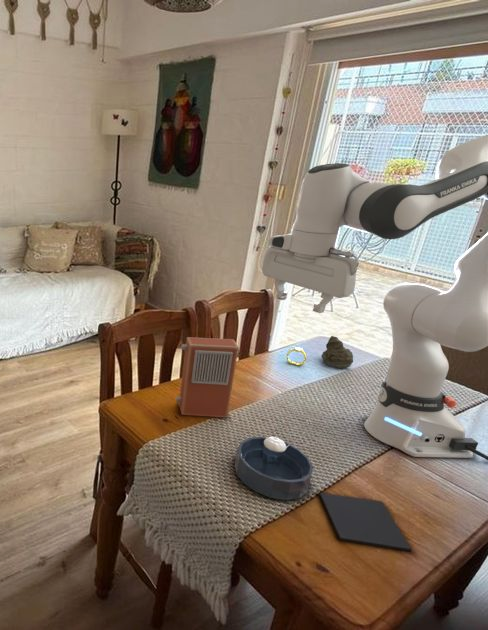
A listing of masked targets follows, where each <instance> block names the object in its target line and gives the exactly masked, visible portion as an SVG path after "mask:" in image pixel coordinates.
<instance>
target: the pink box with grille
mask: <svg viewBox="0 0 488 630" xmlns="http://www.w3.org/2000/svg"><path fill="white" fill-rule="evenodd" d="M181 349H182V351H184V358H183V359H184V360H183V367H182V375H181V383H180V391H179V392H180V393H179V396H176V397H175V402H176V403H177V404H178V406H179V409H180V414H181V415H182V416H197V417H210V418H211V417H212V418H213V417H214V418H225V419H226V418H228V415H229V409H230V406H231V396H232V391H233V383H234V378H235V373H236V366H237V360H238V354H239V353H240V349H239V346H238V345H237V343H236V341H235V340H234V339H231V338H215V337H214V338H211V337H192V336H187V337H186V342H185V343H182V344H181Z"/></svg>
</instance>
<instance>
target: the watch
mask: <svg viewBox="0 0 488 630" xmlns="http://www.w3.org/2000/svg"><path fill="white" fill-rule="evenodd" d="M294 351H295V352H297V353H301V354H302V355H303V356H304V360H303V361H302V362H296V361H292V360H290V358H289V356H290V353H291V352H294ZM286 360H287V362H288V363H289V364H291V365H295V366H298V367H299V366H302V365H304V364H305V363H306V361H307V353H306V352H305V351H304V349H303V348H302V347H300V346H295V347H294V348H290V349H289V350H288V351H287V353H286Z"/></svg>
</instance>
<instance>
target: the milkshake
mask: <svg viewBox="0 0 488 630" xmlns="http://www.w3.org/2000/svg"><path fill="white" fill-rule="evenodd" d="M284 442H285V441H283V440H282V439H281V438H278V437H274V436H268V437H267V438H266V439H265V440H264V446H263V457H262V466H261V473H262V474H264V475H267V476H270V477H272V478H275V477H277V474H278V471H279V468H280V465H281V462H282V458H283V456H284V453H285V450H286V448H287V447H288V446H289V445H292V443H293V441H291V442H290V443H289V445H288V446H287V447H286V444H285V443H284Z"/></svg>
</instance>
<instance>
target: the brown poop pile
mask: <svg viewBox="0 0 488 630" xmlns="http://www.w3.org/2000/svg"><path fill="white" fill-rule="evenodd" d="M325 347H326V350H324V351H323V352H322V354H321V359H322V361H323V362H324V363H325V364H326V365H328V366H331V367H334V368H338V369H347V368H350V367H351V366H352V365H353V363H354V354H353V352H352V351H351V349H349V348H346V347H345V346H344V343H343V341H341V339H339V338H338V336H334V335H331V336H330V337H329V339H328V341H327V343H326V344H325Z"/></svg>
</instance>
